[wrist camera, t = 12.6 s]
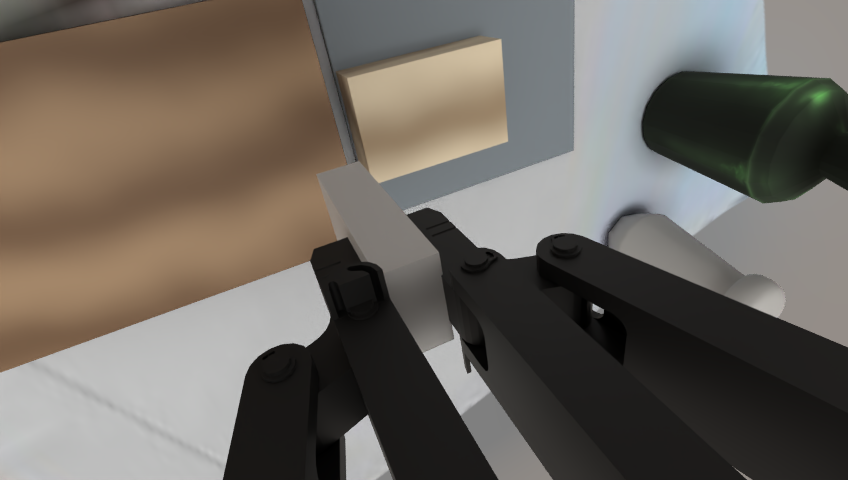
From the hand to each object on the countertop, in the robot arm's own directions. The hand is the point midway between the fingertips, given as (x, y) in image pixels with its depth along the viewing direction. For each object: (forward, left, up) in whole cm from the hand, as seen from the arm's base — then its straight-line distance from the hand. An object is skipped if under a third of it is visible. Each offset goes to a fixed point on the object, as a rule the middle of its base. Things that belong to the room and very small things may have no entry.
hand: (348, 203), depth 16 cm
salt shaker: (+17, +25, -13) cm, 33 cm away
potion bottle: (+7, +29, -13) cm, 32 cm away
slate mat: (0, +11, -12) cm, 16 cm away
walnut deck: (0, -8, -12) cm, 15 cm away
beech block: (+1, +7, -12) cm, 14 cm away
